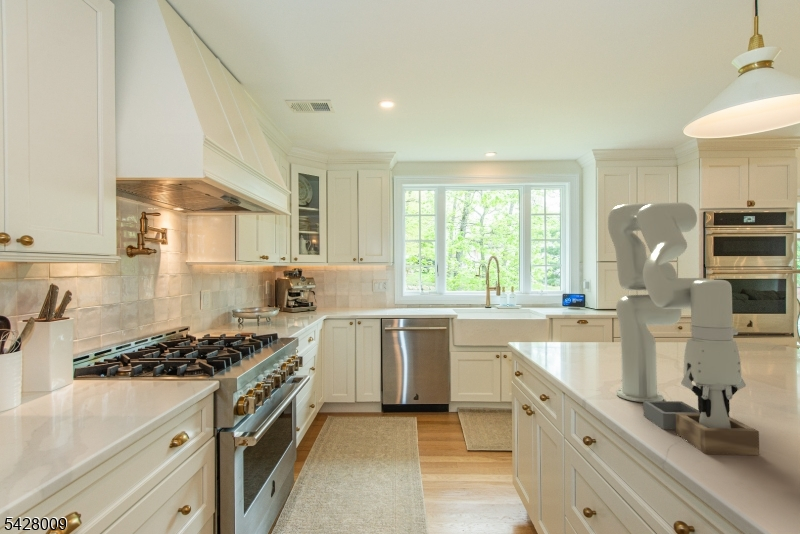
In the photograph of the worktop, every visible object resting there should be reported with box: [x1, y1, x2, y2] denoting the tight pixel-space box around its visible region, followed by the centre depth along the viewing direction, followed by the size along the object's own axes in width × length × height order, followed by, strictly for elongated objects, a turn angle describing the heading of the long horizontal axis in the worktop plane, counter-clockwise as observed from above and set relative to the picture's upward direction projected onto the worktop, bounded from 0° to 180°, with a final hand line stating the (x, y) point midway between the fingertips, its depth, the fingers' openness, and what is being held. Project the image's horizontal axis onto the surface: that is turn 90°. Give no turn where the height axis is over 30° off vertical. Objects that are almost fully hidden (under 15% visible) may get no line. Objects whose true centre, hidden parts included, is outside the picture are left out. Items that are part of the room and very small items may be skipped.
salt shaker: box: [699, 383, 731, 428], centre depth 93 cm, size 6×6×13 cm
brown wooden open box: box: [675, 413, 761, 456], centre depth 93 cm, size 11×11×5 cm
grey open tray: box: [642, 400, 700, 430], centre depth 106 cm, size 10×10×4 cm
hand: (713, 414), depth 93 cm, fingers closed on salt shaker, 3 cm apart
